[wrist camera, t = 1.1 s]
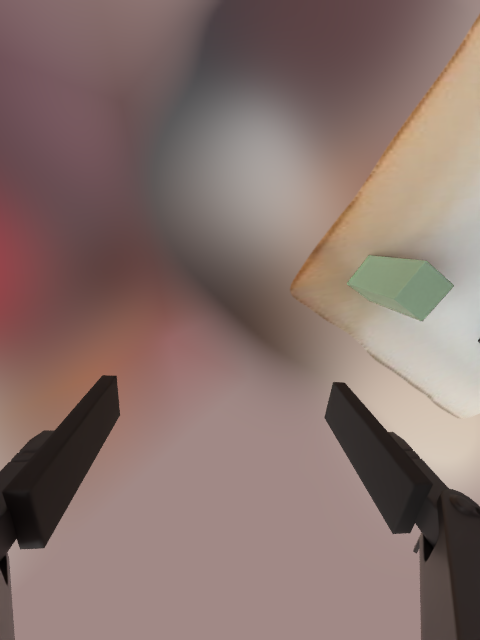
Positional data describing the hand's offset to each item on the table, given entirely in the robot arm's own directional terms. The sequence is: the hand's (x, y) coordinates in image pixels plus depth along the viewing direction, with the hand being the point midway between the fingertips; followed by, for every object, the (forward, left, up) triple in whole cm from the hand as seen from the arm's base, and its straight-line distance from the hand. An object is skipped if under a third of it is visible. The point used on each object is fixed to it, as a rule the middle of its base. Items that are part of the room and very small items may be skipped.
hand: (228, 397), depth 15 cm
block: (-15, +17, -21) cm, 31 cm away
